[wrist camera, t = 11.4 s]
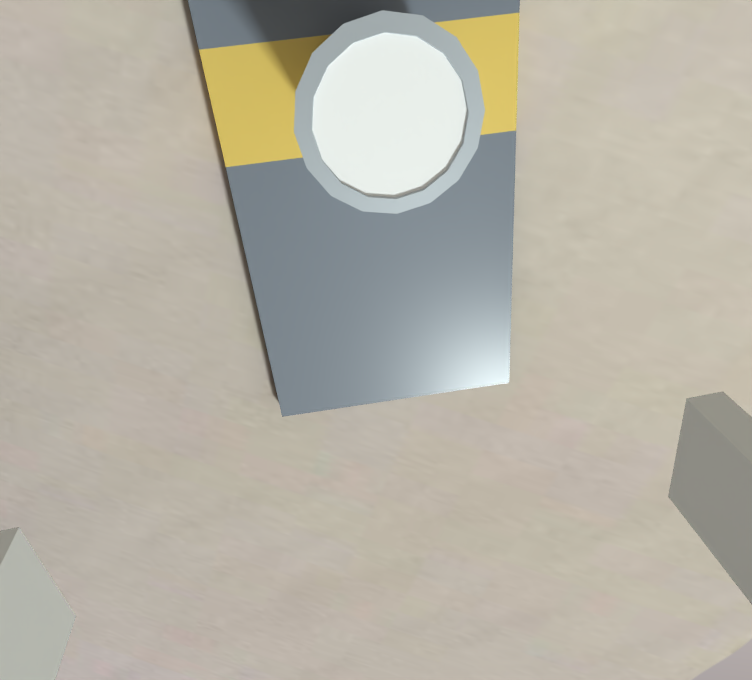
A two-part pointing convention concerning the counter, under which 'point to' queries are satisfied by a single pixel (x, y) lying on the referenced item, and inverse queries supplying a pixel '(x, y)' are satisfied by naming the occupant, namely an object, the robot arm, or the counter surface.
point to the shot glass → (388, 112)
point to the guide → (364, 215)
